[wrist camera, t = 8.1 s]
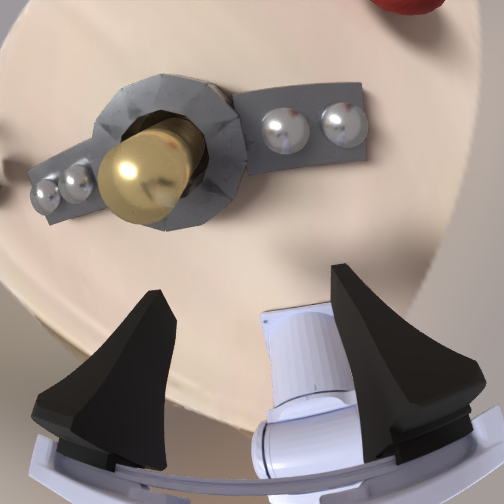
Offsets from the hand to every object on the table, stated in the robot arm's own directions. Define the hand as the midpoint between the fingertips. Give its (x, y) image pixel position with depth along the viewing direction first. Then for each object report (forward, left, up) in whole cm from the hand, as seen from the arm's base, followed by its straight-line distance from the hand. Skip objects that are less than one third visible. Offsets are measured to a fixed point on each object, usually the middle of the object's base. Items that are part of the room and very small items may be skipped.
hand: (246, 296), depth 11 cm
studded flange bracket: (+5, +4, -9) cm, 11 cm away
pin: (+5, +4, -9) cm, 11 cm away
